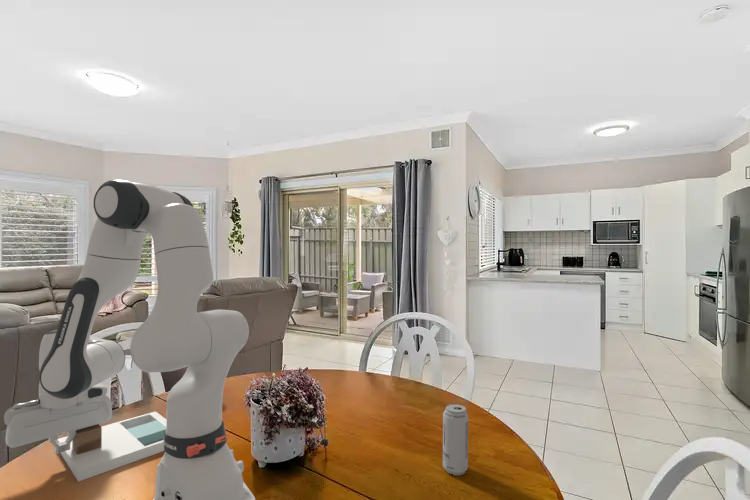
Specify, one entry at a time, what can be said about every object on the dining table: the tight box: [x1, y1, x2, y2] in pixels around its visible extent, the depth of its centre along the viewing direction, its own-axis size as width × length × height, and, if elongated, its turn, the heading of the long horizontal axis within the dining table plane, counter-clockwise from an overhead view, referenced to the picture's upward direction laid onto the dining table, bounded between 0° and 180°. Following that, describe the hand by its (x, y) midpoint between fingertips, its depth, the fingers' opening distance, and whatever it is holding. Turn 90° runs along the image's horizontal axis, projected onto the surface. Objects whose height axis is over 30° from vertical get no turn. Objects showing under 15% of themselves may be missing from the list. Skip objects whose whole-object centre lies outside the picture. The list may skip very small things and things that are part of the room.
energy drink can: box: [442, 403, 469, 476], centre depth 96 cm, size 6×6×15 cm
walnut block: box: [72, 424, 102, 455], centre depth 100 cm, size 5×5×5 cm
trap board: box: [56, 411, 167, 482], centre depth 106 cm, size 22×24×2 cm
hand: (62, 451), depth 96 cm, fingers closed
